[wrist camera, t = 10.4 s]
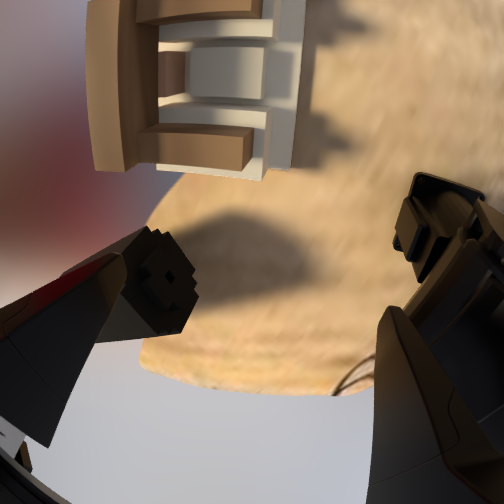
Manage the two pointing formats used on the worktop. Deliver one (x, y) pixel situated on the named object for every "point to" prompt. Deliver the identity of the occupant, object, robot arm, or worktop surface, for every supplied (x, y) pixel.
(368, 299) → the worktop surface
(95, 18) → the wooden c-shaped bracket
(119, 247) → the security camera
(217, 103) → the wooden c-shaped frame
